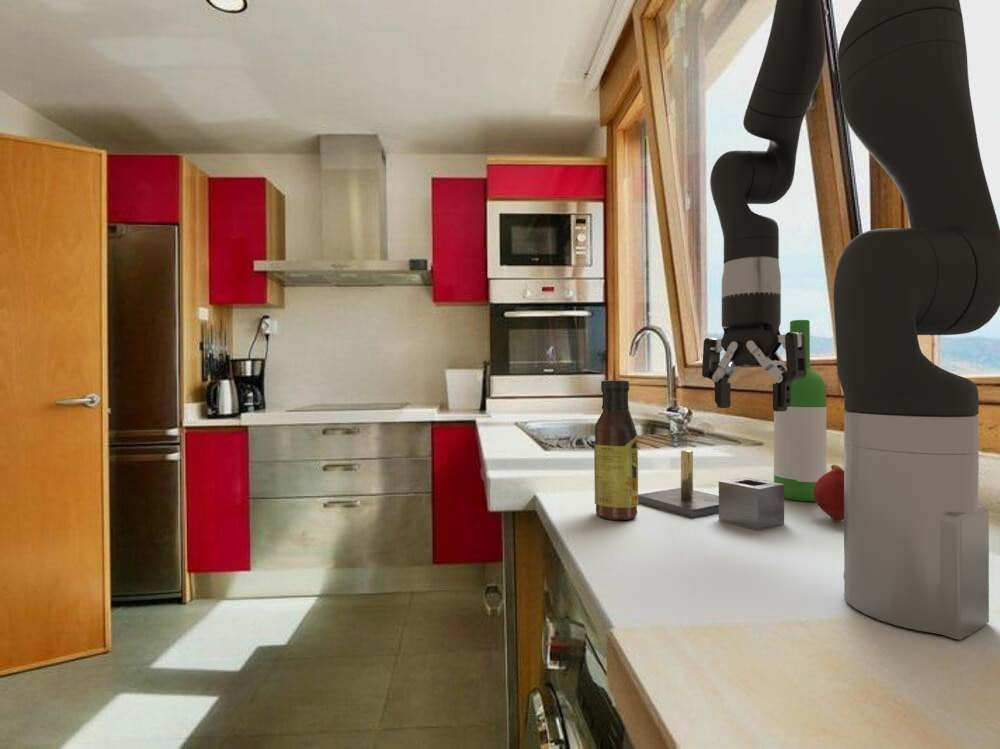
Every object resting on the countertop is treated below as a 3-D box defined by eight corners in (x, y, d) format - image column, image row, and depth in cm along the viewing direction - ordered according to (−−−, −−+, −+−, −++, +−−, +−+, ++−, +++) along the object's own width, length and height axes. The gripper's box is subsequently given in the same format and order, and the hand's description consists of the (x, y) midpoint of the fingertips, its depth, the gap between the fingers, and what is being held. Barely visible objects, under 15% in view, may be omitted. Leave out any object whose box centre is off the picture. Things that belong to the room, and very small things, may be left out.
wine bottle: (784, 490, 94) (785, 323, 94) (833, 498, 88) (833, 320, 88) (765, 496, 89) (765, 320, 89) (815, 505, 83) (816, 316, 83)
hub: (739, 508, 81) (739, 452, 81) (692, 518, 75) (692, 458, 75) (682, 494, 90) (682, 444, 90) (636, 502, 85) (636, 449, 85)
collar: (784, 524, 72) (784, 484, 72) (758, 530, 69) (758, 489, 69) (744, 514, 77) (744, 477, 77) (718, 519, 74) (718, 481, 74)
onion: (848, 516, 76) (848, 461, 76) (872, 527, 71) (872, 468, 71) (806, 515, 77) (806, 461, 77) (826, 526, 71) (826, 467, 71)
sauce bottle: (643, 522, 73) (643, 380, 73) (598, 521, 73) (598, 380, 73) (632, 510, 80) (632, 380, 80) (591, 509, 80) (591, 379, 80)
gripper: (817, 289, 69) (817, 411, 69) (722, 302, 81) (722, 406, 81) (785, 284, 65) (784, 413, 65) (690, 298, 78) (690, 407, 78)
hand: (750, 409), depth 73 cm, fingers open, 8 cm apart
